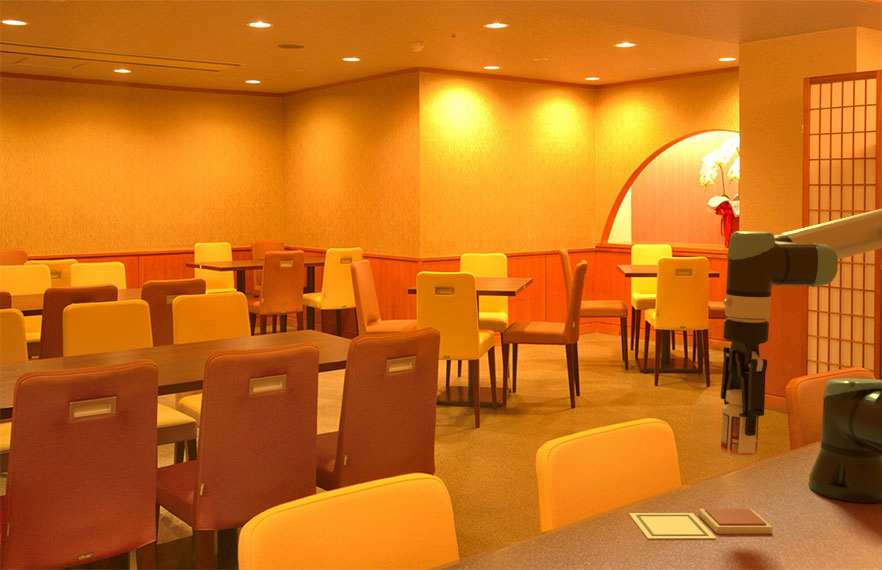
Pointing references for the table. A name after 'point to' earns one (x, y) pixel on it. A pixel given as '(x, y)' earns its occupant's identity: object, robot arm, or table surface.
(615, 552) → the table surface
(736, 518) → the pad
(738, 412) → the pill bottle
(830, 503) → the table surface
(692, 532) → the paper sheet
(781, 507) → the table surface
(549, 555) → the table surface
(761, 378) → the robot arm
